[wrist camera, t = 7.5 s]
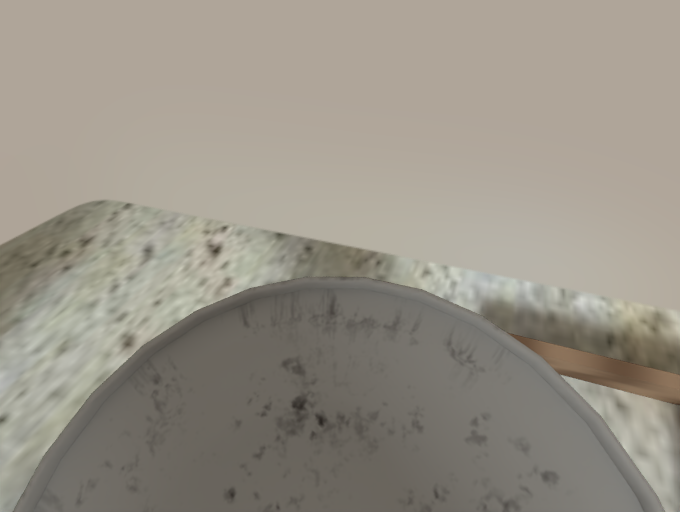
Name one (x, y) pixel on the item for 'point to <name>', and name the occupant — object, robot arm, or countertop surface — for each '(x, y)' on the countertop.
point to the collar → (607, 371)
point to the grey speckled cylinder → (336, 416)
